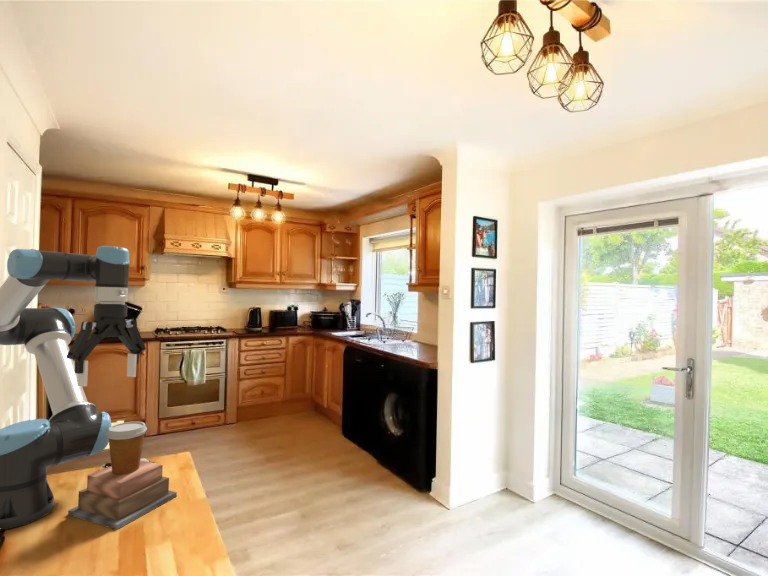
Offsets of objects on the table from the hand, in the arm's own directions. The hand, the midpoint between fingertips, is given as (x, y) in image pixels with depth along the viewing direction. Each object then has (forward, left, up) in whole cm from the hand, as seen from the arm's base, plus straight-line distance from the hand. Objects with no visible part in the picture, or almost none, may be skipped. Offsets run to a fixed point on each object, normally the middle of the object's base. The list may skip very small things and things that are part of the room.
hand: (108, 381), depth 109 cm
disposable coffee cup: (+3, +4, -25) cm, 26 cm away
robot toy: (-15, +19, -35) cm, 43 cm away
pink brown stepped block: (+3, +4, -35) cm, 35 cm away
